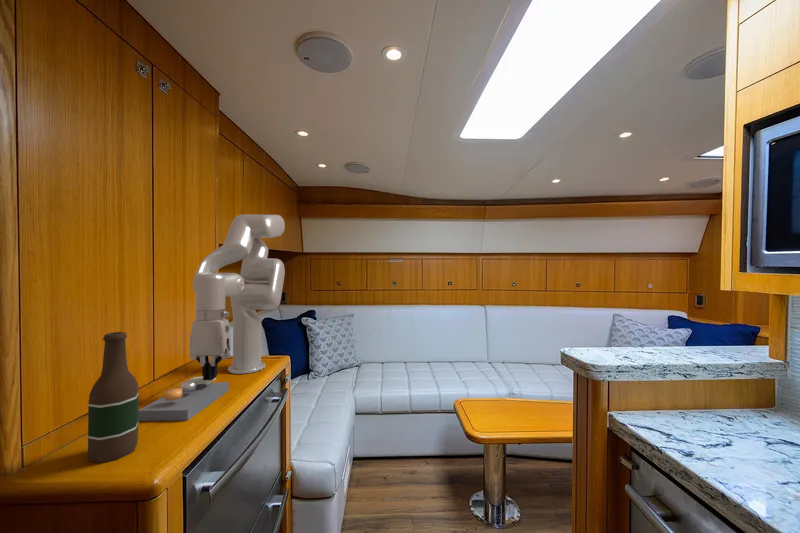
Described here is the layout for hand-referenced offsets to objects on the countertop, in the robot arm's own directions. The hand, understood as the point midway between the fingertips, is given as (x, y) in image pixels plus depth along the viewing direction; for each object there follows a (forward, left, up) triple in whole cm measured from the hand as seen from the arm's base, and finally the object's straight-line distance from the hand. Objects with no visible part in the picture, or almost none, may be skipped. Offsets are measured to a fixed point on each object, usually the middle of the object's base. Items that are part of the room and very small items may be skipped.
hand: (209, 378), depth 96 cm
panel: (+6, -3, -5) cm, 8 cm away
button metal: (+6, -3, -1) cm, 6 cm away
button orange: (+12, -3, -1) cm, 12 cm away
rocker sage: (0, -3, -1) cm, 3 cm away
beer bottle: (+30, -3, -5) cm, 30 cm away
